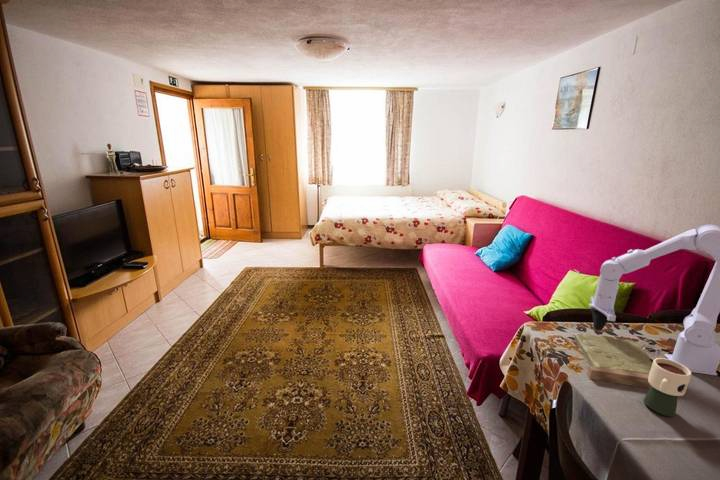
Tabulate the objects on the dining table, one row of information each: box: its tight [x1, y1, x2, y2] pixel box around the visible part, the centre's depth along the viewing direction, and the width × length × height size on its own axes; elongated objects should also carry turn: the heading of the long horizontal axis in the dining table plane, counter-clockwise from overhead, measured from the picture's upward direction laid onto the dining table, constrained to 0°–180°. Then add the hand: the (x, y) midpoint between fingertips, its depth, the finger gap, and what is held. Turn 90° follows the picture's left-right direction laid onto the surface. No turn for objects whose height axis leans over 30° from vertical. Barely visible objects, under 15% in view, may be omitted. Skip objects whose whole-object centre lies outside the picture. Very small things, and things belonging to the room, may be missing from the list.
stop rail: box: [586, 365, 651, 389], centre depth 94 cm, size 22×2×3 cm, turn 76°
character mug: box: [643, 357, 693, 417], centre depth 84 cm, size 11×7×13 cm, turn 127°
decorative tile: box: [573, 333, 653, 374], centre depth 104 cm, size 19×20×4 cm
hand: (597, 328), depth 117 cm, fingers closed
